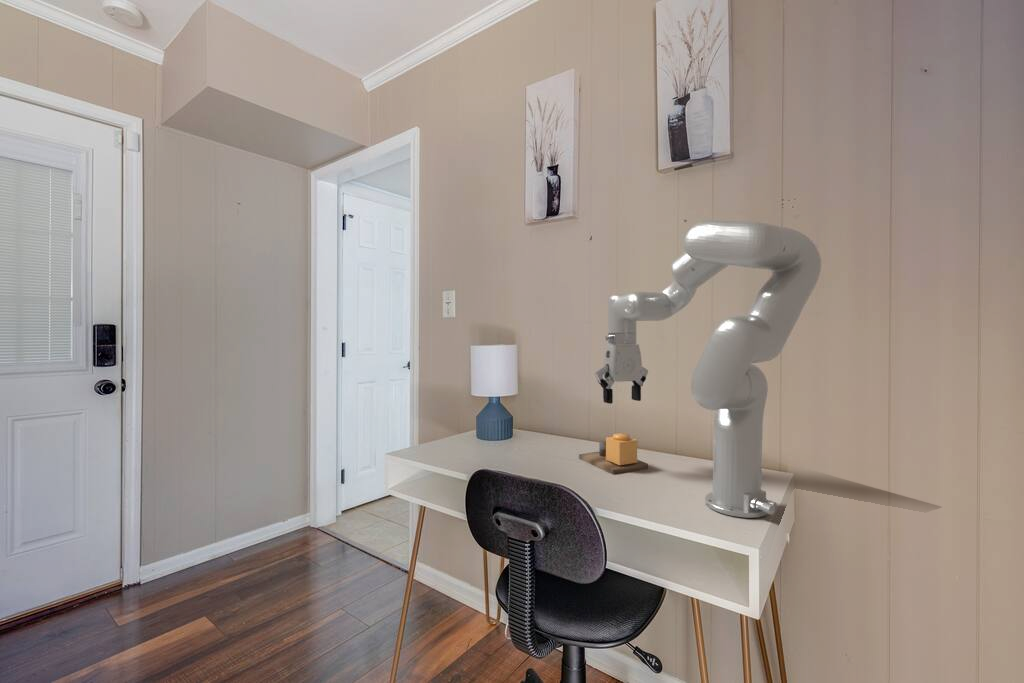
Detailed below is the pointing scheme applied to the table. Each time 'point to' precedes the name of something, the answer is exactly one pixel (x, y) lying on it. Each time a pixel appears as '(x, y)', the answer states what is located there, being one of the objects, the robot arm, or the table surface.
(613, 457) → the knobbed tan cube
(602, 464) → the post board
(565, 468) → the table surface
